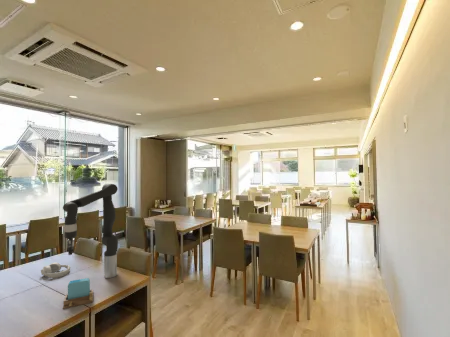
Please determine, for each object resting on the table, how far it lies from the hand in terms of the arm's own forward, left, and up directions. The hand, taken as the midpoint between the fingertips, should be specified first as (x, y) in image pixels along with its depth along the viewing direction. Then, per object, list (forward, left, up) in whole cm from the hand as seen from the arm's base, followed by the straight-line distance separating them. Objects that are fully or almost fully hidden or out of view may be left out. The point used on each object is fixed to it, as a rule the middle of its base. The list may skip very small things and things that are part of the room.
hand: (71, 252), depth 170 cm
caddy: (-7, +18, -27) cm, 33 cm away
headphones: (+15, -40, -28) cm, 51 cm away
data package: (-7, +18, -26) cm, 32 cm away
